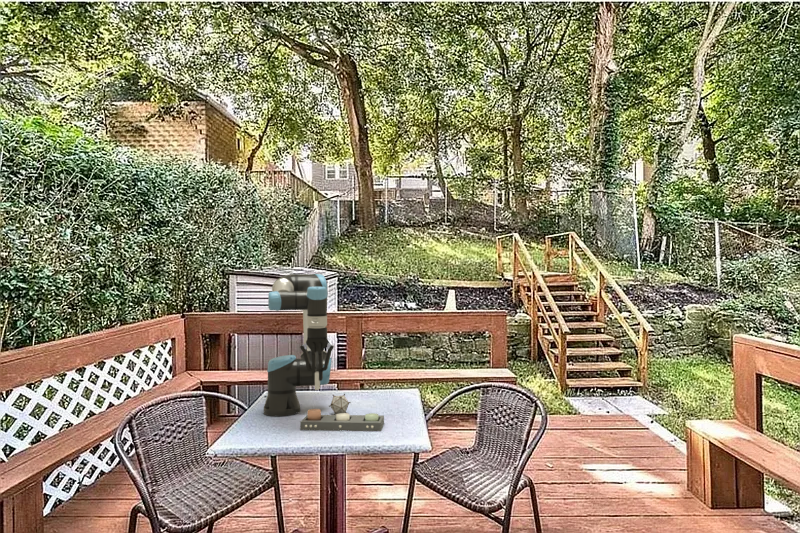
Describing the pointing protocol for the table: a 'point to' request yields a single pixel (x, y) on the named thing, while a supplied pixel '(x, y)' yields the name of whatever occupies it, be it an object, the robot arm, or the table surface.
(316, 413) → the button three
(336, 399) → the game die
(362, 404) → the table surface
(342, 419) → the button one
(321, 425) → the console
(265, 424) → the table surface
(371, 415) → the button two
